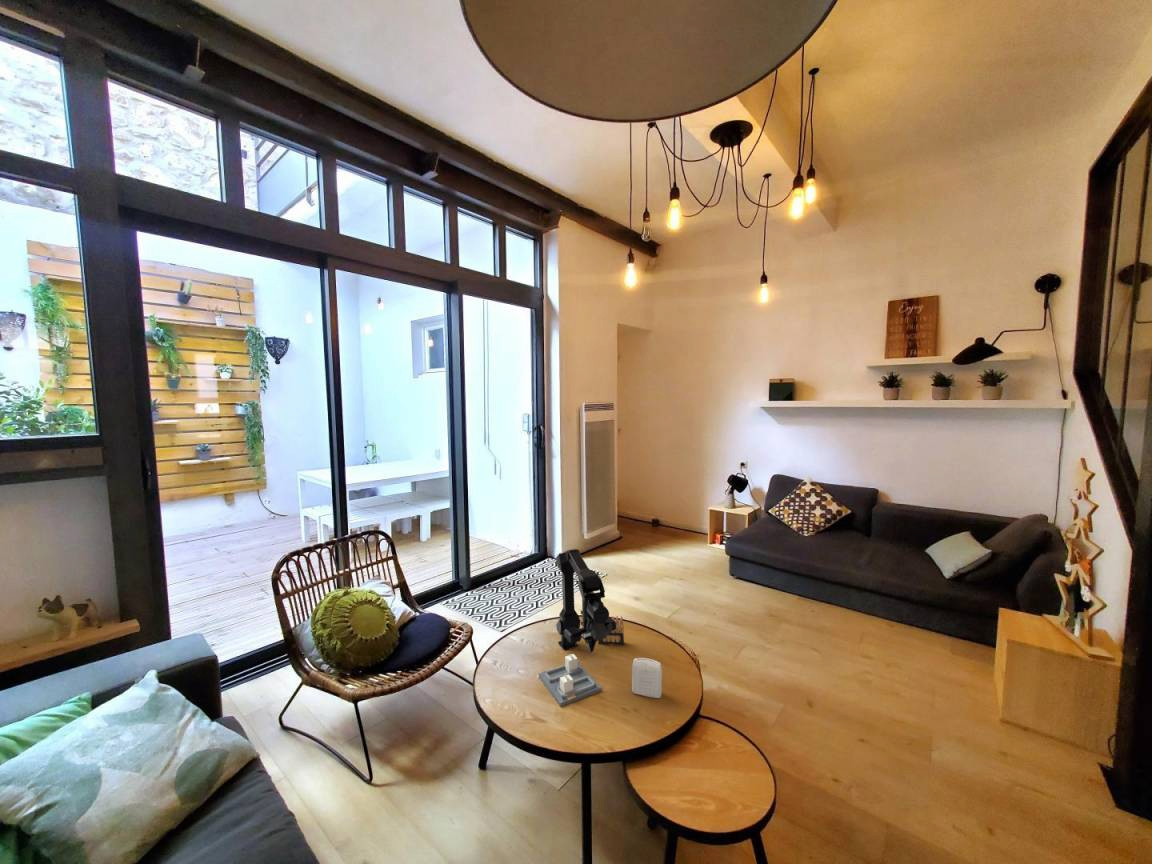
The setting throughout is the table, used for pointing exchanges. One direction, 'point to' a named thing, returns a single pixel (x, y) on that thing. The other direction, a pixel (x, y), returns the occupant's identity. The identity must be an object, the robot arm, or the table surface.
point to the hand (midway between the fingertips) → (591, 651)
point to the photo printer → (647, 677)
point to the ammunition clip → (615, 634)
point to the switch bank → (581, 684)
